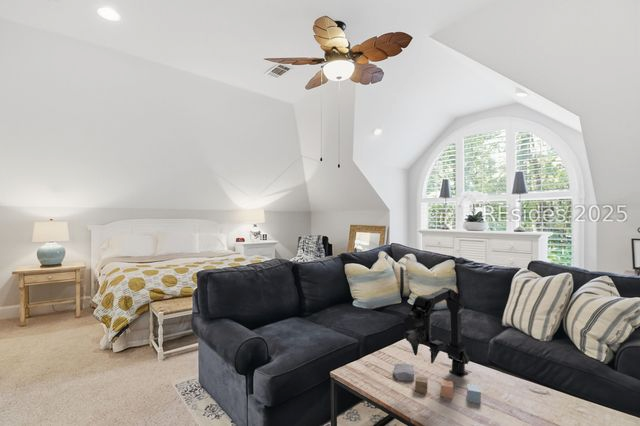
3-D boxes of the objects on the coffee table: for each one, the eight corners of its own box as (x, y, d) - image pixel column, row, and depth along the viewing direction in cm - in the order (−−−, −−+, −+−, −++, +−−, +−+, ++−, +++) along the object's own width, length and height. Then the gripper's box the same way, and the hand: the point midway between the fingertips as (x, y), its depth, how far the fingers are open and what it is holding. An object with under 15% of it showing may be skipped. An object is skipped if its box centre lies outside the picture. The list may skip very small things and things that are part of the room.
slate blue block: (466, 395, 145) (467, 384, 145) (479, 397, 144) (479, 386, 143) (467, 401, 141) (467, 390, 141) (480, 404, 139) (480, 392, 139)
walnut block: (416, 385, 153) (416, 375, 153) (427, 388, 151) (427, 377, 151) (415, 391, 148) (415, 380, 148) (427, 393, 147) (427, 382, 147)
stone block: (395, 383, 159) (416, 381, 156) (393, 373, 159) (414, 371, 157) (394, 372, 170) (414, 370, 168) (392, 363, 170) (412, 361, 168)
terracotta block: (440, 390, 149) (441, 379, 149) (452, 392, 147) (452, 381, 147) (440, 396, 144) (440, 385, 144) (453, 398, 143) (453, 387, 143)
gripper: (395, 322, 152) (395, 355, 152) (429, 335, 136) (429, 372, 136) (412, 317, 158) (412, 350, 158) (446, 329, 142) (445, 365, 142)
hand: (423, 359), depth 149 cm, fingers open, 9 cm apart
